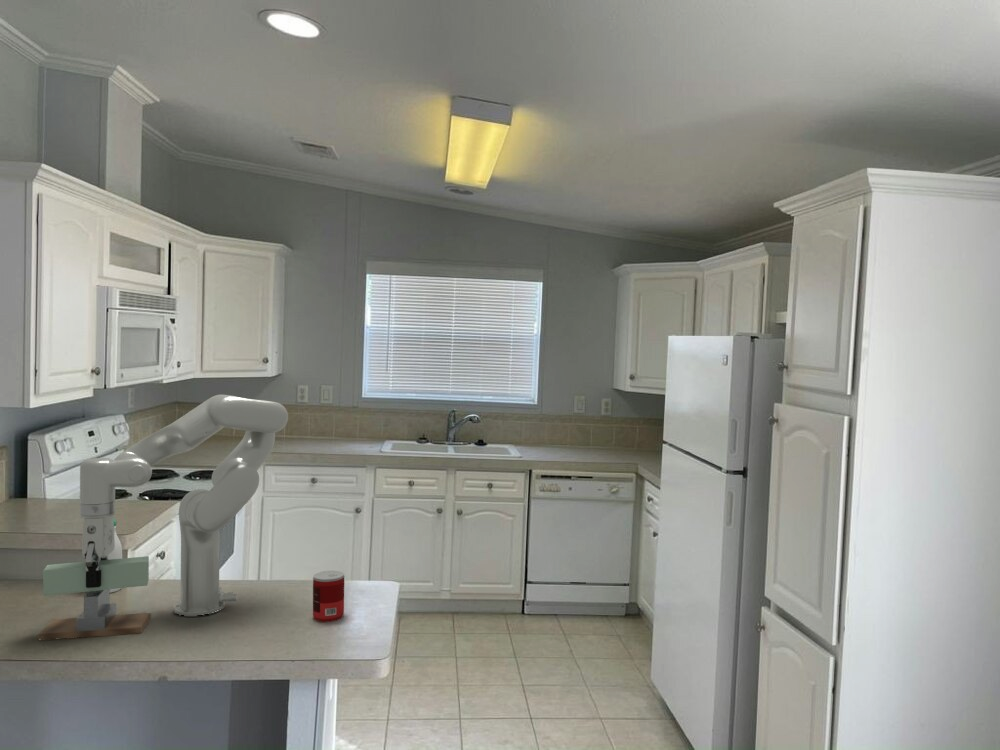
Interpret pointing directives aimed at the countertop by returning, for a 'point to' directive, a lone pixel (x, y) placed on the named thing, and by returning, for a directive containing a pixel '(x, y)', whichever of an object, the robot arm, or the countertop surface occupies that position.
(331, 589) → the canned food
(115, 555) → the milk bottle
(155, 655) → the countertop surface
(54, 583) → the beam
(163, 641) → the countertop surface
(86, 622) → the stand
